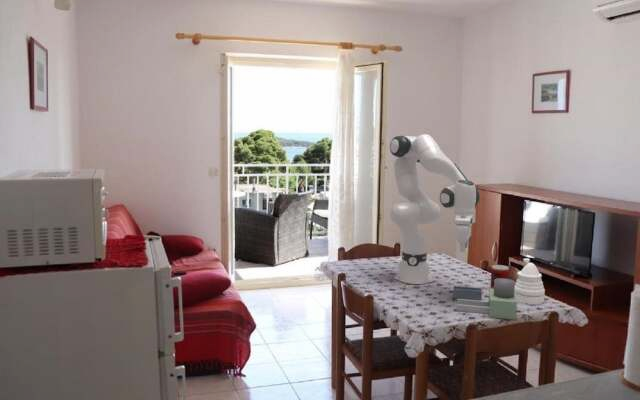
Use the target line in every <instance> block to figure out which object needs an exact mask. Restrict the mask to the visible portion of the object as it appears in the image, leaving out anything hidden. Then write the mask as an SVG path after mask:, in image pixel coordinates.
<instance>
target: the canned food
mask: <svg viewBox="0 0 640 400" xmlns="http://www.w3.org/2000/svg"><path fill="white" fill-rule="evenodd" d="M509 271H510V269H509V266H507V265H502V264H494V265H492V266H491V271H490V273H491V274H490V289H494V280H495V279H498V278H505V279H509V276H510V275H509Z"/></svg>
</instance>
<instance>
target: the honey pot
mask: <svg viewBox="0 0 640 400" xmlns="http://www.w3.org/2000/svg"><path fill="white" fill-rule="evenodd" d="M530 261H531V259H530V258H523V263H524V264H525V265H524V266H523V268H522V269H521V270H519V271H518V272H516V273H517V276H518V277H517V278H516V281H515V290H514V292H515V296H516V301H519V302H518V303H520V302H523V303H522V304H524V303H529V304H528V305H533V304H535V305H540V304H539V303H542V304H544V303H545V292H546V290H545V287H544V281H542V277H543V275H542V273H540V272H539V270H538V268H537V266H536V264H534V263H533V262H530ZM543 302H544V303H543Z"/></svg>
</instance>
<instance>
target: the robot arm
mask: <svg viewBox="0 0 640 400" xmlns="http://www.w3.org/2000/svg"><path fill="white" fill-rule="evenodd" d="M389 150H390V154H392V156H394V157H396V159H395V160H394V162H393V168H394V170H393V172H394V176H395V181H396V186H397V190H398V194H399V195H400V196H401V197H402V198H404V199H406V200H408V202H407V201H406V202H405V201H404V202H399V203H396V204H393V206H392V207H391V208H390V214H389V215H390V219H391V221H392V222H393V224H394V225H396V226H397V227H398V228H399V230H400V232H401V234H402V251H401V261H399V262H398V267H397V268H398V271H397V274H396V275H395V276H394V280H397V281H399V282H402V283H405V284H412V285H422V284H423V285H424V284H427V283H433V282H434V280H433V279H434V278H433V277H432V275H431V271H430V265H429V263H428V262H427V258H428V255H427V237H426V236H425V234H424V233H423V232H421V231H419V230H418V227H417V226H418V225H428V224H432V223H436V222H437V221H439V219H440V217H441V208H440V206H439V204H438V203H437V202H435V201H433V200H432V199H430V198H429V197H428V195H427V194H426V193H425V192H424V190H423V188H422V185H421V181H420V178H419V175H418V171H417V167H416V164H417V163H420V165H421V166H422V167H423V169H424V170H426V171H427V172H429V173H433V174H437V175H441V176H444V177H446V178H449V180H450V181H452V183H453V185H450V186H447V187H444V188H443V189H442V190H441V192H440V194H439V203H440V204H441V206H442V207H443V208H445V209H454V219H453V220H454V225H455V226H456V227H455V230H456V240H457V243H459V249H460V250H459V251H460V252H461V253H465V251H466V249H467V248H468V247H469V246H468V245H469V239H470V237H471V236H472V226H473V224H475V223H476V218H477V217H476V212H477V210H476V206H477V205H478V204H479V202H480V198H481V194H480V193H479V192H480V191H479V190H478V189H477V188H476V184H475V183H474V182H473V181H471V180H468V179H467V177H466V176H465V174H464V173H463V172H462V170H461V169H460V168H459V167H458V165H457V164H456V163H455V162H454V161H452V160H451V159H450V158H449V157H448V156H446V155H445V153H444V152H443V151H442V149H441V148H440V146H439V144H438V143H437V142H436V140H435V139H434V138H433V137H432V136H431V135H429V134H427V133H425V134H424V133H423V134H420V135H418V136H415V135H411V136H410V135H397V136H396V135H395V136H394V137H393V138H392V139H391V141H390V143H389Z"/></svg>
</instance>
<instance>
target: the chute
mask: <svg viewBox="0 0 640 400" xmlns="http://www.w3.org/2000/svg"><path fill="white" fill-rule="evenodd" d="M482 289H483V288H482V287H473V286H459V285H453V289H452V300H455V301H457V299H466V300H478V301H482V296H483V295H482V293H483V290H482Z"/></svg>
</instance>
